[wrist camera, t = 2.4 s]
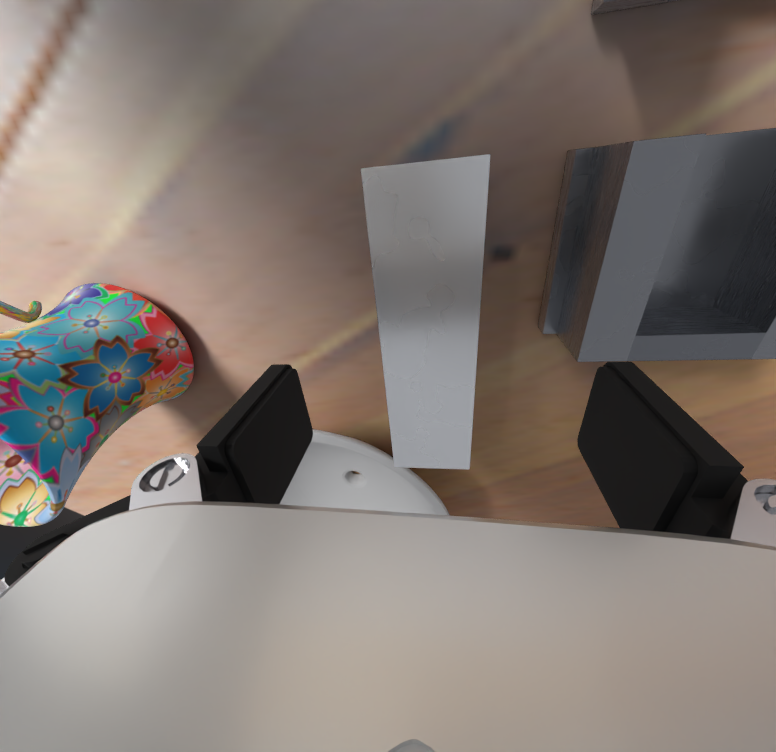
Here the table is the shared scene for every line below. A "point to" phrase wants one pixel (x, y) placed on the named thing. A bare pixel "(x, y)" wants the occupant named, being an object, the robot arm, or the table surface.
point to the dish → (357, 479)
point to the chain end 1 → (621, 4)
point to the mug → (77, 389)
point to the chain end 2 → (666, 250)
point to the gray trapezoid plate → (428, 301)
